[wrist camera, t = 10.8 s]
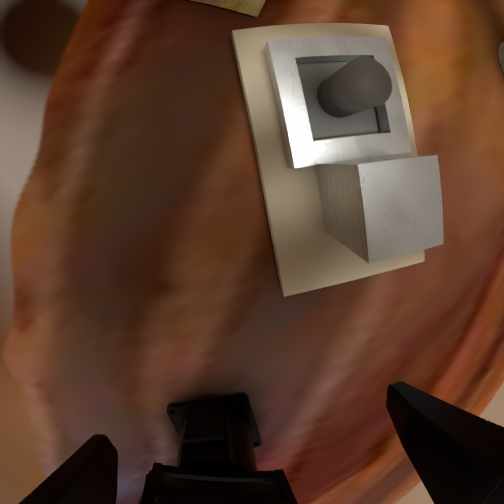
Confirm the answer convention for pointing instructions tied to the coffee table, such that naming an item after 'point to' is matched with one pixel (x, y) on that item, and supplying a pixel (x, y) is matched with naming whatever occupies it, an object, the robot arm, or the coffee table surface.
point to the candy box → (238, 5)
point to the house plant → (501, 55)
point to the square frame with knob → (359, 156)
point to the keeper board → (322, 127)
